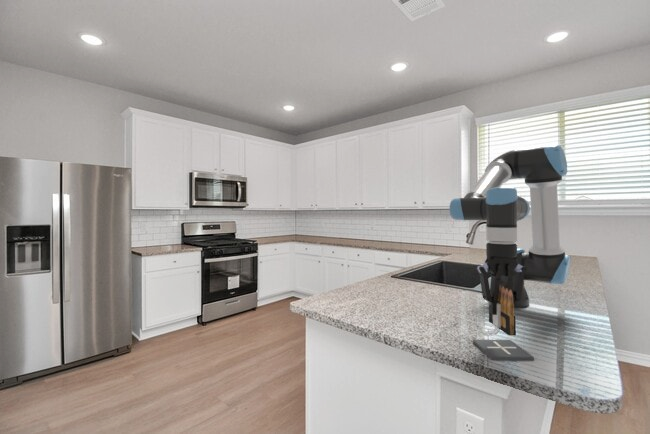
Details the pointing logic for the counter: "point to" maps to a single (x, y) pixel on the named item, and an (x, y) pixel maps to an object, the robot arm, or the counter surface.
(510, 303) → the ammunition clip
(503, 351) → the mat
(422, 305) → the counter surface
